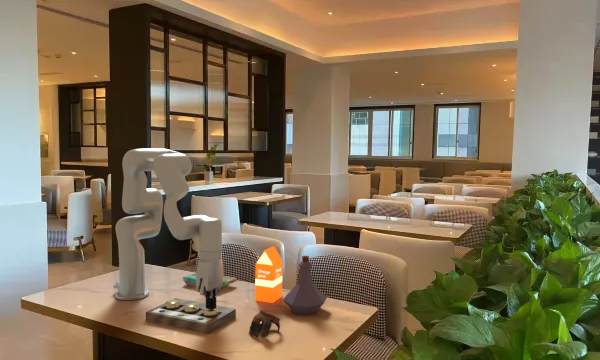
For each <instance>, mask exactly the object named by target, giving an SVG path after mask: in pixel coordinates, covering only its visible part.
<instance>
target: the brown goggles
mask: <svg viewBox="0 0 600 360" xmlns="http://www.w3.org/2000/svg"><path fill="white" fill-rule="evenodd" d="M280 321H281V318H280V317H279V316H277V315H273V314H272V313H270V312H267V311H265V310H262V309H260V310H259V313H257V314H255V315H254V316H253V318H252V321H251V324H250V325H249V332H248V333H249V335H251V336H252V337H255V338H256V339H258V338H259V335H261V336H262V337H267V336H268V335H269V332H270V330H271V328H272V324H274V325H275V326H276V327H277V333H279V332H280V330H281V323H280Z"/></svg>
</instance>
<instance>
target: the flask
mask: <svg viewBox="0 0 600 360" xmlns="http://www.w3.org/2000/svg"><path fill="white" fill-rule="evenodd" d="M301 259H302V260H301V262H299V263H298V266H299V268H300V270H299V276H298V279H297V281H296V282H297V283H296V284H295V286H294V287H292V289H291V290H289V291H288V293H287V294H286V295H285V297H283V298H282V301H283V302H284V303H285V305H286V306H287V307H288V308H289V309H290V310H291V311H292V312H294V313H295V314H297V315H306V316H308V315H312V314H316V313H317V312H318V311H319V310H320V309H321V308H322V306H323V305H324V304H325V302H326V300H327V296H326V295H325V294H324V293H323V292H322V290H320V289H319V288H318V287H317V286H316V284H315V283H314V281H313V280H314V279H313V276H312V273H311V272H312V271H311V268H312V266H313V263H312V262H311V261H309V259H310V256H309V255H302V256H301Z"/></svg>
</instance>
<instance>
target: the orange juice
mask: <svg viewBox="0 0 600 360" xmlns="http://www.w3.org/2000/svg"><path fill="white" fill-rule="evenodd" d="M254 272H255V277H254V278H255V279H254V280H255V281H254V283H255V285H254V287H255V299H254V300H255V301H258V302H265V303H270V304H273V303H275V302H276V301H277V300H279V299H280V298H282V296H283V259H282V258H281V255H280V254H279V252H278V251H277V249H276V247H275V246H274V245H273V246H271V247H269V248H267V249H264V251H263V253H262V254H261V256H260V257H259V258H258V260H257V261H256V262H255V271H254Z"/></svg>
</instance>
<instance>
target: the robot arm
mask: <svg viewBox="0 0 600 360" xmlns="http://www.w3.org/2000/svg"><path fill="white" fill-rule="evenodd" d="M121 164H122V166H121V167H122V172H123V185H122V186H123V187H122V198H121V206H122V210H123V212H125V213H126V214H128V215H129V214H130V216H125V217H122V218H120V219H119V220H118V221H117V222H116V224H115V234H116V235H115V236H116V239H117V245H118V263H119V264H118V270H119V271H118V273H119V274H118V275H119V276H118V277H119V279H118V281H117V282H116V283H115V284H114V285H113V286H112V287H113V288H114V289H116V290H117V291H116V293H115V294H114V295H115V298H116V299H117V300H121V301H134V300H135V301H137V300H141V299H143V298H146V297H148V296H149V295H150V290H149V289H147V288H146V273H145V272H146V271H145V270H146V269H145V267H146V265H145V260H146V259H145V249H144V247H143V245H142V244H141V242H140V240H143V239H150V238H154V237H156V236H158V235H159V234H160V231H161V227H162V219H163V217H164V221H165V223H166V226H167V228H168V230H169V231H170V233H171V235H172V237H174V238H175V239H176V240H178V241H184V240H190V239H195V238H198V260H197V266H196V287H195V289H196V290H200V291H199V295H200V296H204V298H205V303H206V309H212V310H213V309H215V308H216V305H217V296H218V291H219V290H220V289H219V288H220V287H221V285H222V284H223V275H224V264H223V252H222V251H223V248H222V247H223V245H222V244H223V243H222V242H223V240H222V239H223V237H222V236H223V235H222V234H223V232H222V231H223V227H222V226H223V225H222V223H223V222H222V220H221V219H220V218H218V217H210V216H208V215H205V214H196V215H188V216H183V217H182V216H181V213H180V212H179V210H178V206H177V202H178V201H180V200H181V199H183V198H184V197H185V196H187V194H188V193H189V191H190V186H189V183H188V181H187V180H186V178H185V177H187V176H188V175H189V174H190V173H191V172H192V170H193V169H192V168H193V165H192V161H191V159H190V158H189V156H188V155H186V154H185V153H182V152H179V151H175V150H173V149H172V150H171V149H167V148H134V149H130V150H128V151H126V153H125V154H124V156H123V158H122V163H121ZM145 172H154V173H155V176H156V177H157V180H158V182H159V184H160V186H161V189H162V190H163V192H164V193H165V198H166V199H165V201H164V198H163V195H162V193H161V191H160V190H159V189H158V188H155V187H154V188H153V187H148V188H147V186H148V178H147V175H146V173H145ZM143 213H144V214H143ZM135 214H136V215H135ZM138 214H139V215H138Z"/></svg>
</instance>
